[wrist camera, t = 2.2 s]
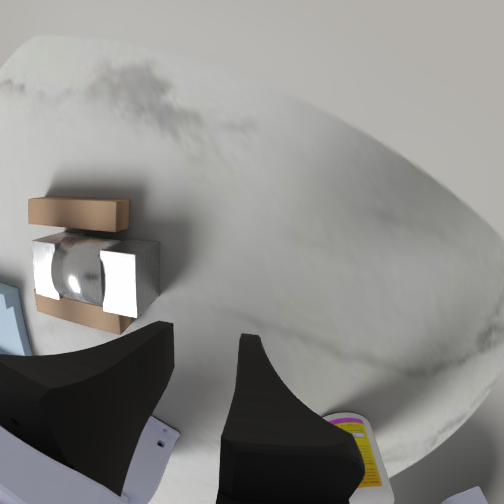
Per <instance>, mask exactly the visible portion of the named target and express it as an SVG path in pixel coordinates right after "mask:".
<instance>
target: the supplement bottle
mask: <svg viewBox="0 0 504 504" xmlns="http://www.w3.org/2000/svg"><path fill="white" fill-rule="evenodd" d="M323 419H325V420H326V421H328V422H330V423H332V424H334V425H335V426H337V427H339V428H341V429H343V430H345V431H347V432H349V433H351V434H352V435H353V437H354V439H355V441H356V443H357V445H358V447H359V449H360V452H361V454H362V457H363V461H364V465H365V476H364V478H363V480H362V482H361V483H360V485H359V486H358V488H357V489H356V490H355V492H354V493H353V495H352V496H351V497H350V499H349V502H350V504H394V495H393V492H392V488H391V485H390V482H389V479H388V476H387V472H386V469H385V466H384V463H383V460H382V457H381V454H380V451H379V448H378V445H377V442H376V439H375V436H374V433H373V430H372V428H371V425H370V423H369V422H368V420H367V419H366V418H365V417H363V416H361V415H359V414H356V413H349V412H343V413H335V414H331V415H328V416H325V417H323Z"/></svg>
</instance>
